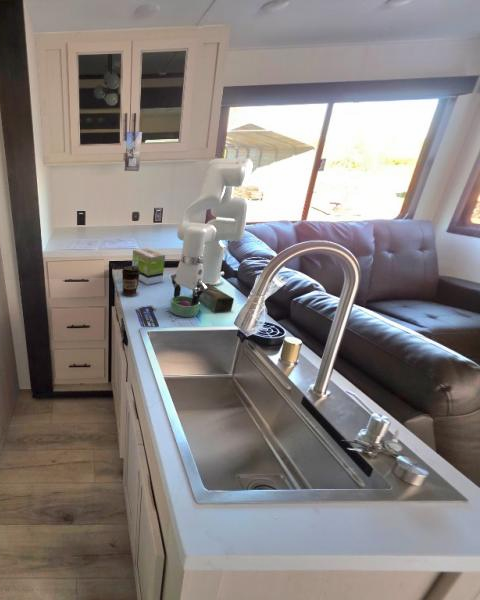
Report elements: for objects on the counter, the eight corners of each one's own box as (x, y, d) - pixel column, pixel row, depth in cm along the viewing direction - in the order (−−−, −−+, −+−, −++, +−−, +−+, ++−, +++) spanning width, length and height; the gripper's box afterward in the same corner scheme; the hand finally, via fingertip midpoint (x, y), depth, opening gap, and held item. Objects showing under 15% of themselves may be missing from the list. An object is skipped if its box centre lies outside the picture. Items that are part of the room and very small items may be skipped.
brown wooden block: (207, 294, 147) (209, 281, 145) (232, 312, 130) (235, 297, 128) (191, 295, 146) (193, 282, 143) (215, 313, 129) (217, 299, 126)
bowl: (182, 304, 138) (183, 293, 135) (203, 313, 129) (205, 302, 127) (163, 310, 132) (165, 299, 130) (185, 320, 123) (186, 309, 121)
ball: (183, 306, 133) (185, 297, 131) (191, 312, 130) (194, 303, 127) (175, 309, 131) (178, 300, 128) (184, 314, 128) (186, 305, 125)
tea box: (130, 276, 171) (132, 249, 165) (145, 273, 175) (148, 247, 169) (147, 285, 159) (149, 256, 153) (163, 282, 163) (166, 254, 157)
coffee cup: (138, 298, 144) (140, 271, 138) (120, 296, 145) (121, 270, 140) (138, 291, 152) (141, 265, 146) (121, 289, 153) (123, 264, 148)
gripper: (216, 263, 116) (209, 305, 124) (180, 252, 130) (175, 291, 137) (203, 267, 113) (196, 310, 120) (167, 255, 126) (163, 295, 133)
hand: (185, 300), depth 128 cm, fingers open, 8 cm apart
